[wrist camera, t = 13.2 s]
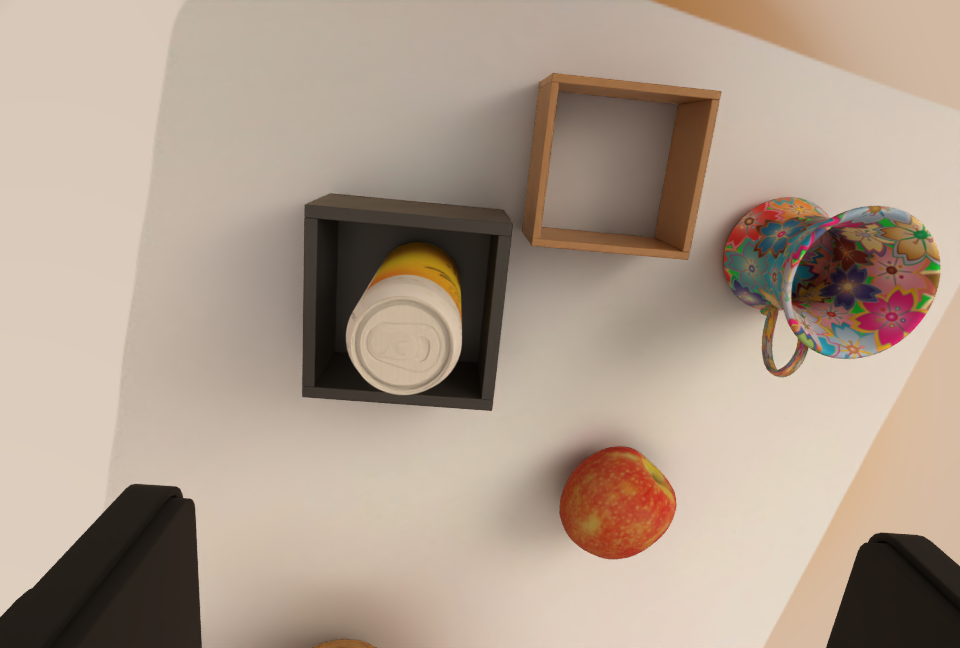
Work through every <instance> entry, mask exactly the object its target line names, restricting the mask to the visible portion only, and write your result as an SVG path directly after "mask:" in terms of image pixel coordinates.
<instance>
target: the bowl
mask: <svg viewBox="0 0 960 648" xmlns="http://www.w3.org/2000/svg"><path fill="white" fill-rule="evenodd" d="M313 648H376V647H374V646H372V645H370V644H369V643H366V642H363V641H357V640H348V639H341V640H335V641H330V642H325V643H322V644H320V645H317V646H315V647H313Z"/></svg>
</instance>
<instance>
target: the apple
mask: <svg viewBox="0 0 960 648" xmlns="http://www.w3.org/2000/svg"><path fill="white" fill-rule="evenodd" d="M675 510H676V497H675V492H674V490H673V488H672V486H671V485H670V483H669V481H668V480H667V479H666V478H665V476H664V475H663V474H662V473H661V472H660V471H659V470H658V469H657V468H656V467H655V466H654V465H653V464H652V463H651V462H650V461H649V460H647V459H646V458H645V457H644V456H643V455H642V454H641V453H639V452H638V451H636V450H635V449H632V448H629V447H610V448H606V449H603V450H600V451H598V452H596V453H594V454H593V455H591V456H590V457H588V458H586V459H585V460H584V461H583V462H582V463H581V464H580V465H579V466H578V467H577V468H576V469H575V471H574V472H573V473H572V475H571V476H570V478H569V479H568V481H567V483H566V485H565V487H564V489H563V492H562V495H561V500H560V518H561V521H562V524H563V526H564V529H565V531H566V533H567V534H568V536H569V537H570V538H571V540H572V541H573V542H575V543H576V544H577V545H578V546H579V547H581V548H582V549H583V550H585V551H587V552H589V553H591V554H593V555H596V556H598V557H601V558H605V559H622V558H628V557H630V556H633V555H636V554H638V553H640V552H642V551H644V550H645V549H647V548H648V547H650V546H651V545H652V544H653V543H655V542H656V541H657V540H658V539H659V538H660V537H661V536H662V535H663V534H664V533H665V532H666V530H667V529H668V527H669V526H670V524H671V522H672V520H673V517H674V514H675Z"/></svg>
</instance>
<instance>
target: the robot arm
mask: <svg viewBox="0 0 960 648" xmlns="http://www.w3.org/2000/svg"><path fill="white" fill-rule="evenodd" d="M0 648H202V642H201V621H200V600H199V579H198V558H197V537H196V516H195V504H194V502H193V500H192V499H187V498H183V495H182V492H181V490H180V489H179V488H178V487H175V486H160V485H144V484H133V485H130V486H129V487H128V488H126V489H125V490H124V491H123V492H122V493H121V494H120V496H119V497H118V498H117V499H116V500H115V501H114V502H113V503H112V504H111V505H110V506H109V507H108V508H107V509H106V510H105V511H104V513H103V514H102V515H101V516H100V517H99V518H98V519H97V520H96V521H95V522H94V523H93V524H92V525H91V526H90V527H89V528H88V530H87V531H86V532H85V533H84V534H83V535H82V536H81V537H80V538H79V539H78V540H77V541H76V542H75V543H74V545H73V546H72V547H71V548H70V549H69V550H68V551H67V552H66V553H65V554H64V555H63V556H62V558H60V559H59V560H58V561H57V563H56V564H55V565H54V566H53V567H52V568H51V569H50V570H49V571H48V572H47V573H46V574H45V575H44V576H43V577H42V578H41V579H40V581H39V582H38V583H37V584H36V585H35V586H34V587H33V588H32V589H29V590H28V591H27V592H26V593H24V594H23V595H22V596H21V597H20V598H18V599H17V600H16V601H15V602H14V603H13V604H12V606H11V607H10V608H9V609H8V610H7V611H6V612H5V613H4V614H3V615H2V616H1V617H0ZM826 648H960V566H959V565H958V564H957V563H955V562H954V561H953V560H952V559H951V558H950V557H948V556H947V555H946V554H945V553H944V552H943V551H941V550H940V549H939V548H938V547H937V546H936V545H935V544H934V543H932V542H931V541H930V540H928V539H926V538H925V537H923V536H918V535H909V534H894V533H878V534H875V535H873V536H872V537H871V538H870V540H869V541H868V543H864V544H863V545H862V546H861V547H860V549H859V550H858V553H857V556H856V559H855V562H854V565H853V568H852V571H851V574H850V577H849V580H848V583H847V586H846V589H845V592H844V595H843V598H842V601H841V605H840V607H839V611H838V613H837V616H836V619H835V622H834V626H833V628H832V632H831V635H830V638H829V641H828V644H827V647H826Z"/></svg>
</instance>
